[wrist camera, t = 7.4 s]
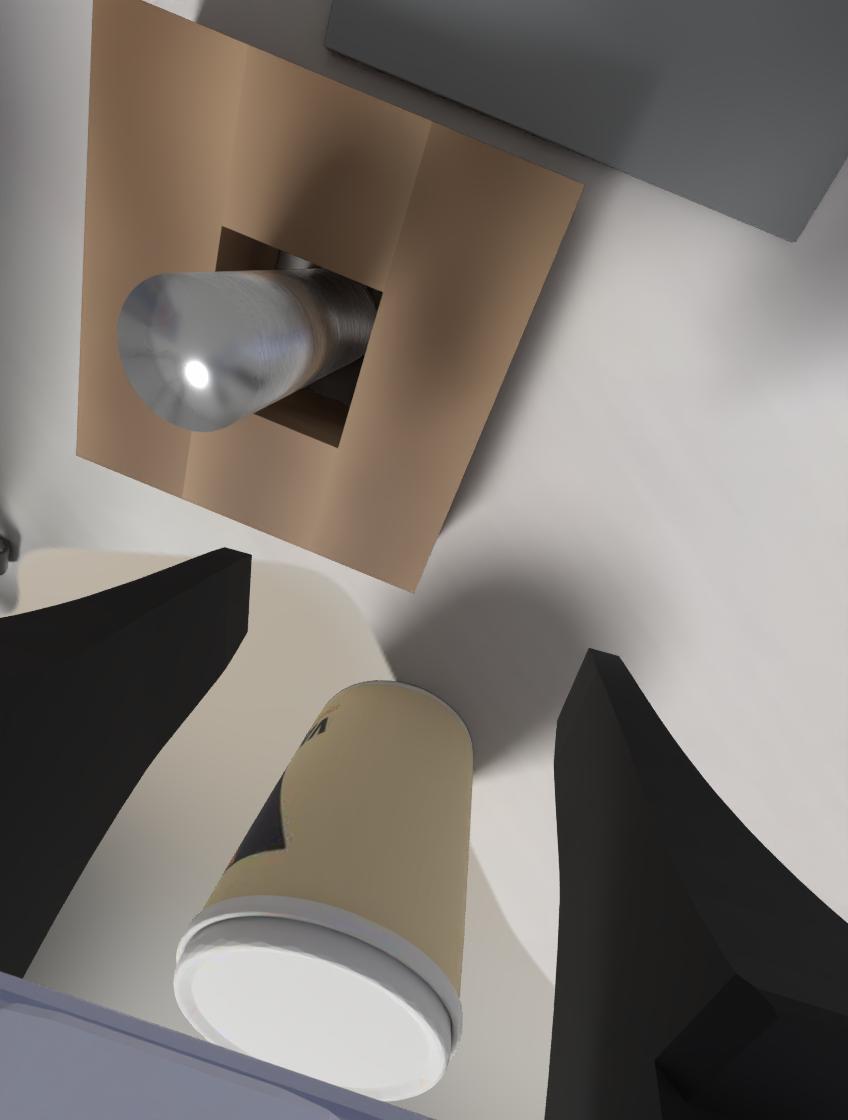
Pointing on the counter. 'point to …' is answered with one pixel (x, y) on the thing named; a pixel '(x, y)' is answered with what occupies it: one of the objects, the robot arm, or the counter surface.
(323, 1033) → the coffee cup
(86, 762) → the robot arm
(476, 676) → the counter surface
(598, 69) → the mat
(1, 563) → the coffee press
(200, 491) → the hole block
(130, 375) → the peg
